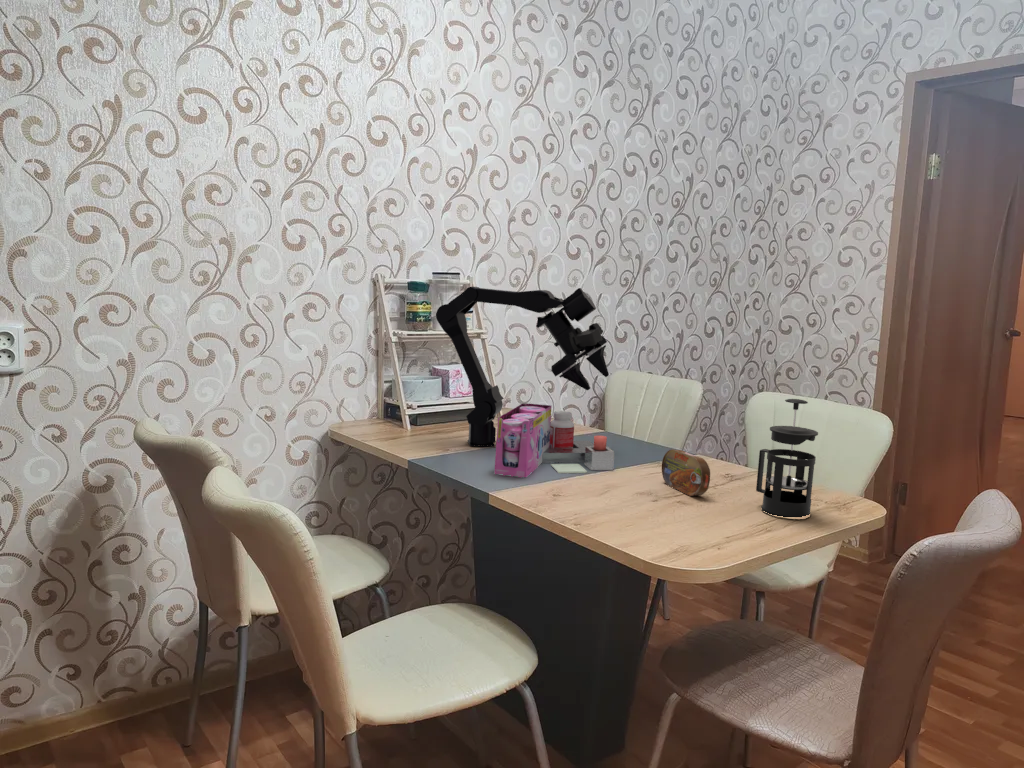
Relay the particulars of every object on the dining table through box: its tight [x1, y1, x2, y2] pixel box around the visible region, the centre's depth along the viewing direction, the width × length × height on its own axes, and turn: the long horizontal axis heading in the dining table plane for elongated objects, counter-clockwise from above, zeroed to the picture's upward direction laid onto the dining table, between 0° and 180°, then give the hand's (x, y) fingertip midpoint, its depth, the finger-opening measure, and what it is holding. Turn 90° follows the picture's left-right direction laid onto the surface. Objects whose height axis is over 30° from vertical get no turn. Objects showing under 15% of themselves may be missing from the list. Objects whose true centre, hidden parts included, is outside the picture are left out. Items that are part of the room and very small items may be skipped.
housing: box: [584, 445, 615, 471], centre depth 173 cm, size 6×6×4 cm
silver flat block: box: [542, 440, 594, 464], centre depth 183 cm, size 16×13×2 cm
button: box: [593, 435, 608, 451], centre depth 173 cm, size 3×3×3 cm
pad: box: [550, 463, 588, 474], centre depth 171 cm, size 7×7×1 cm
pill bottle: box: [550, 410, 575, 448], centre depth 184 cm, size 6×6×11 cm
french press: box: [755, 398, 819, 517], centre depth 143 cm, size 12×9×23 cm
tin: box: [661, 449, 711, 497], centre depth 156 cm, size 15×3×8 cm, turn 21°
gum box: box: [494, 402, 552, 478], centre depth 172 cm, size 24×8×14 cm, turn 164°
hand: (598, 382), depth 182 cm, fingers open, 9 cm apart
